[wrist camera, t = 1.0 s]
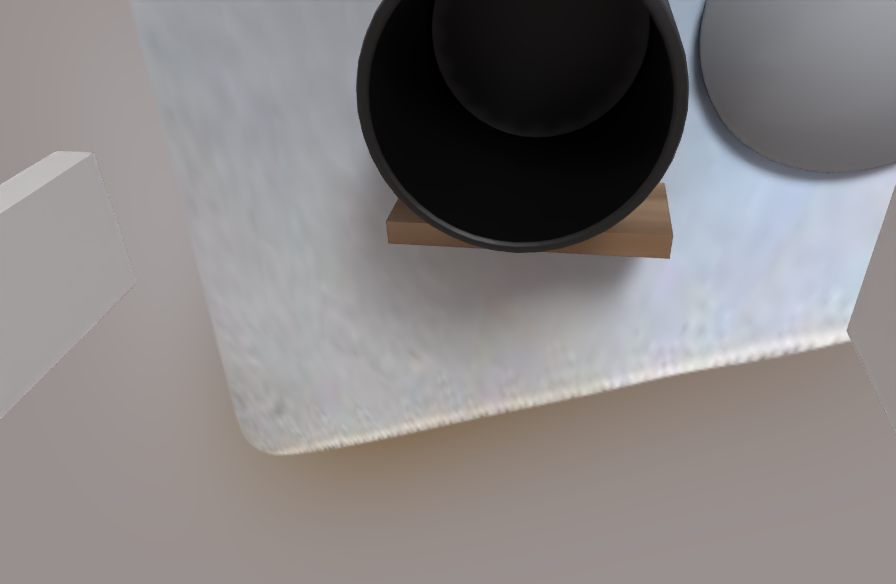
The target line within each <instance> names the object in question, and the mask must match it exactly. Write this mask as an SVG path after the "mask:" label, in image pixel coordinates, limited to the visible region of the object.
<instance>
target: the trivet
mask: <svg viewBox="0 0 896 584" xmlns="http://www.w3.org/2000/svg"><path fill="white" fill-rule="evenodd" d="M699 45H700V63H701V68H702V73H703V78H704V82H705V85H706V87H707V90H708V93H709V96H710V99H711V101H712V103H713V105H714V107H715V109H716V111H717V113H718V115H719V116H720V118H721V119H722V121H723V122H724V123H725V125H726V126H727V127H728V128H729V130H730V131H731V132H732V133H733V134H734V135H735V136H736V137H737V138H738V139H739V140H740V141H741V142H742V143H744V144H745V145H746V146H748V147H749V148H751V149H752V150H753V151H755V152H756V153H758V154H760V155H762V156H764V157H766V158H768V159H770V160H772V161H774V162H777V163H780V164H783V165H785V166H788V167H792V168H797V169H802V170H806V171H815V172H826V173H829V172H852V171H859V170H867V169H871V168H876V167H880V166H884V165H888V164H891V163H894V162H896V0H706V3H705V8H704V12H703V17H702V22H701V31H700V42H699Z"/></svg>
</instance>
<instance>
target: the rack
mask: <svg viewBox="0 0 896 584" xmlns="http://www.w3.org/2000/svg"><path fill="white" fill-rule="evenodd" d="M386 224H387V234H388V243H393V244H411V245H429V246H447V247H466V248H482V247H478V246H474V245H471V244H468V243H466V242H463V241H460V240H458V239H455V238H453V237H451V236H449V235H447V234H445V233H443V232H441V231H440V230H438V229H436V228H434V227H432V226H431V225H429V224H428V223H427V222H425V221H424V220H423V219H421V218H420V217H419V216H417V215H416V214H415V213H414V212H413V211H412V210H410V209H409V208H408V207H407V206H406V205H405V204H404V203H403V202H402V201H401V200H400V199H399V198H398V200H397V202H396V204H395V206H394V208H393V210H392V211H391V213H390V215H389V217H388V219H387V221H386ZM672 240H673V232H672V226H671V220H670V214H669V207H668V201H667V195H666V189H665V183H658V185H657V186H656V187H655V188H654V190H653V191H652V192H651V193H650V195H649V196H648V197H647V198H646V200H645V201H644V202H643V203H642V204H640V205H639V206H638V207H637V208H636V209H635V210H634V211H633V212H632V213H631V214H629V215H628V216H627V217H626V218H624V219H623V220H622V221H620V222H619V223H617V224H616V225H614V226H613V227H611V228H610V229H608V230H607V231H605V232H603V233H601V234H599V235H597V236H595V237H592V238H590V239H588V240H586V241H583V242H581V243H577V244H574V245H571V246H568V247H565V248H561V249H555V250H549V251H543V252H557V253H575V254H593V255H612V256H630V257H648V258H666V259H670V253H671V246H672ZM484 249H486V248H484Z"/></svg>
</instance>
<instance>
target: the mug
mask: <svg viewBox="0 0 896 584" xmlns="http://www.w3.org/2000/svg"><path fill="white" fill-rule="evenodd" d="M356 92H357V108H358V115H359V119H360V124H361V129H362V132H363V136H364V139H365V142H366V144H367V147H368V149H369V152H370V155H371V157H372V159H373V161H374V163H375V165H376V166H377V168H378V170H379V172H380V174H381V175H382V177H383V178H384V180H385V181H386V183H387V184H388V185H389V186H390V188H391V189H392V190H393V192H394V193H395V194H396V196H397V197H398V198H399V199H400V200H401V201H402V202H403V203H404V204H405V205H406V206H407V207H408V208H409V209H410V210H412V211H413V212H414V213H415V214H416V215H417V216H419V217H420V218H421V219H423V220H424V221H425V222H427V223H428V224H429V225H431V226H432V227H434V228H436V229H438V230H440V231H441V232H443V233H445V234H447V235H449V236H451V237H453V238H455V239H458V240H460V241H463V242H466V243H468V244H471V245H474V246H478V247H482V248H486V249H490V250H496V251H504V252H514V253H526V252H543V251H549V250H555V249H561V248H565V247H568V246H571V245H574V244H577V243H581V242H583V241H586V240H588V239H590V238H592V237H595V236H597V235H599V234H601V233H603V232H605V231H607V230H608V229H610V228H611V227H613V226H614V225H616V224H617V223H619V222H620V221H622V220H623V219H624V218H626V217H627V216H628V215H629V214H631V213H632V212H633V211H634V210H635V209H636V208H637V207H638V206H639V205H640V204H642V203H643V202H644V201H645V200H646V198H647V197H648V196H649V195H650V193H651V192H652V191H653V190H654V188H655V187H656V186H657V185H658V183H659V182H660V180H661V179H662V177H663V176H664V174H665V172H666V171H667V169H668V167H669V166H670V164H671V162H672V160H673V158H674V156H675V153H676V151H677V148H678V146H679V143H680V140H681V137H682V134H683V130H684V126H685V121H686V116H687V111H688V95H689V80H688V70H687V62H686V55H685V51H684V48H683V45H682V42H681V38H680V35H679V32H678V29H677V26H676V23H675V20H674V17H673V14H672V11H671V8H670V5H669V2H668V0H383V1H382V2H381V4H380V5H379V7H378V8H377V10H376V11H375V14H374V16H373V18H372V20H371V23H370V25H369V27H368V30H367V32H366V35H365V38H364V41H363V45H362V49H361V53H360V56H359V60H358V71H357V84H356Z"/></svg>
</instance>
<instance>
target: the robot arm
mask: <svg viewBox="0 0 896 584" xmlns="http://www.w3.org/2000/svg"><path fill="white" fill-rule="evenodd" d="M136 283H137V279H136V276H135V273H134V270H133V267H132V264H131V262H130V259H129V256H128V253H127V250H126V247H125V244H124V241H123V238H122V235H121V232H120V229H119V226H118V223H117V220H116V217H115V214H114V211H113V208H112V205H111V202H110V200H109V196H108V193H107V190H106V188H105V184H104V182H103V179H102V176H101V173H100V170H99V167H98V164H97V161H96V158H95V155H94V152H67V151H55V152H53V153H52V154H50V155H48V156H47V157H45V158H43V159H42V160H40V161H39V162H37V163H35V164H34V165H32V166H30V167H29V168H27V169H25V170H24V171H22V172H21V173H19V174H17V175H15V176H14V177H13V178H11V179H9V180H7V181H6V182H4V183H2V184H1V185H0V419H1V418H2V417H3V416H4V415H5V414H6V413H7V412H8V411H9V410H10V409H11V408H12V407H13V406H14V405H15V404H16V403H17V402H18V401H19V400H20V399H21V398H22V397H23V396H24V395H25V394H26V393H27V392H28V391H29V390H30V389H31V388H32V387H33V386H34V385H35V384H36V383H37V382H38V381H39V380H40V379H41V378H42V377H43V376H44V375H45V374H46V373H47V372H48V371H49V370H50V369H51V368H52V367H53V366H54V365H55V364H56V363H57V362H58V361H59V360H60V359H61V358H62V357H63V356H64V355H65V354H66V353H67V352H68V351H69V350H70V349H71V348H72V347H73V346H74V345H75V344H76V343H77V342H78V341H79V340H80V339H81V338H82V337H83V336H84V335H85V334H86V333H87V332H88V331H89V330H90V329H91V328H92V327H93V326H94V325H95V324H96V323H97V322H98V321H99V320H100V319H101V318H102V317H103V316H104V315H105V314H106V313H107V312H108V311H109V310H110V309H111V308H112V307H113V306H114V305H115V304H116V303H117V302H118V301H119V300H120V299H121V298H122V297H123V296H124V295H125V294H126V293H127V292H128V291H129V290H130V289H131V288H132V287H133V286H134V285H135V284H136ZM847 333H848V335H849V337H850V339H851V341H852V343H853V346H854V348H855V350H856V352H857V354H858V356H859V358H860V360H861V362H862V364H863V367H864V369H865V371H866V373H867V375H868V377H869V379H870V381H871V383H872V385H873V387H874V389H875V392H876V394H877V396H878V398H879V400H880V402H881V404H882V406H883V408H884V411H885V413H886V415H887V417H888V419H889V421H890V423H891V425H892V427H893V429H894V432H895V434H896V185H895V188H894V191H893V194H892V197H891V200H890V203H889V206H888V209H887V212H886V215H885V218H884V221H883V224H882V227H881V230H880V233H879V236H878V239H877V242H876V245H875V248H874V251H873V254H872V257H871V259H870V262H869V265H868V268H867V271H866V274H865V277H864V280H863V283H862V286H861V289H860V292H859V295H858V298H857V301H856V304H855V307H854V310H853V313H852V316H851V319H850V322H849V325H848V328H847Z"/></svg>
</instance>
